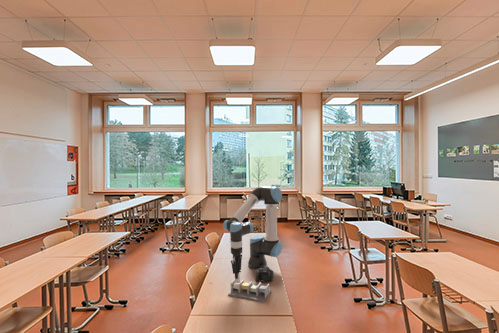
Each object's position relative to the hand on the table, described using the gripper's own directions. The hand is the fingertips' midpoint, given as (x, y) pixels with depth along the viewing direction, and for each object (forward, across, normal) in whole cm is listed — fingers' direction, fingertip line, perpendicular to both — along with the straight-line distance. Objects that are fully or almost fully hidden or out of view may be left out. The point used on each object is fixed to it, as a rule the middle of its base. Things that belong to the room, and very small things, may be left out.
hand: (237, 282), depth 168 cm
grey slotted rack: (+5, 0, +9) cm, 10 cm away
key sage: (+3, 0, +12) cm, 12 cm away
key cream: (+3, 0, 0) cm, 3 cm away
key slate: (+2, 0, +18) cm, 18 cm away
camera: (+6, -20, +12) cm, 24 cm away
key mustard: (+2, 0, +6) cm, 6 cm away
